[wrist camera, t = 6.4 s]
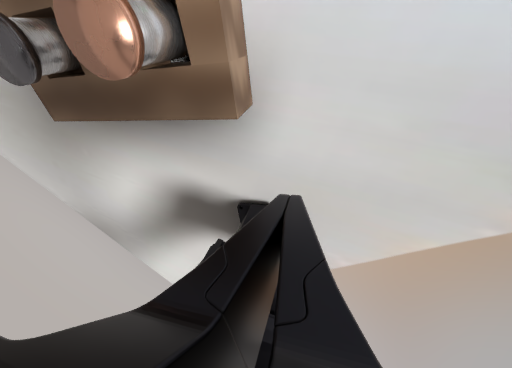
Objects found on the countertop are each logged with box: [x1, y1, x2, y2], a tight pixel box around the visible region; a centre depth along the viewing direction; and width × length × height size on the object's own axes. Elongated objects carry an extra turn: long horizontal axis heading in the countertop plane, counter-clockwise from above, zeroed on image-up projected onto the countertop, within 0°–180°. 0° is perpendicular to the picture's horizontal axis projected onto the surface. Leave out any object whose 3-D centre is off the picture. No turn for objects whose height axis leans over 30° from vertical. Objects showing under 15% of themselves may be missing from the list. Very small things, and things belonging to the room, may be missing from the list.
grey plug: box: [0, 13, 82, 86], centre depth 17 cm, size 4×4×7 cm
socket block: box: [0, 0, 252, 121], centre depth 17 cm, size 12×20×4 cm, turn 96°
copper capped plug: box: [53, 0, 188, 81], centre depth 13 cm, size 4×4×7 cm
